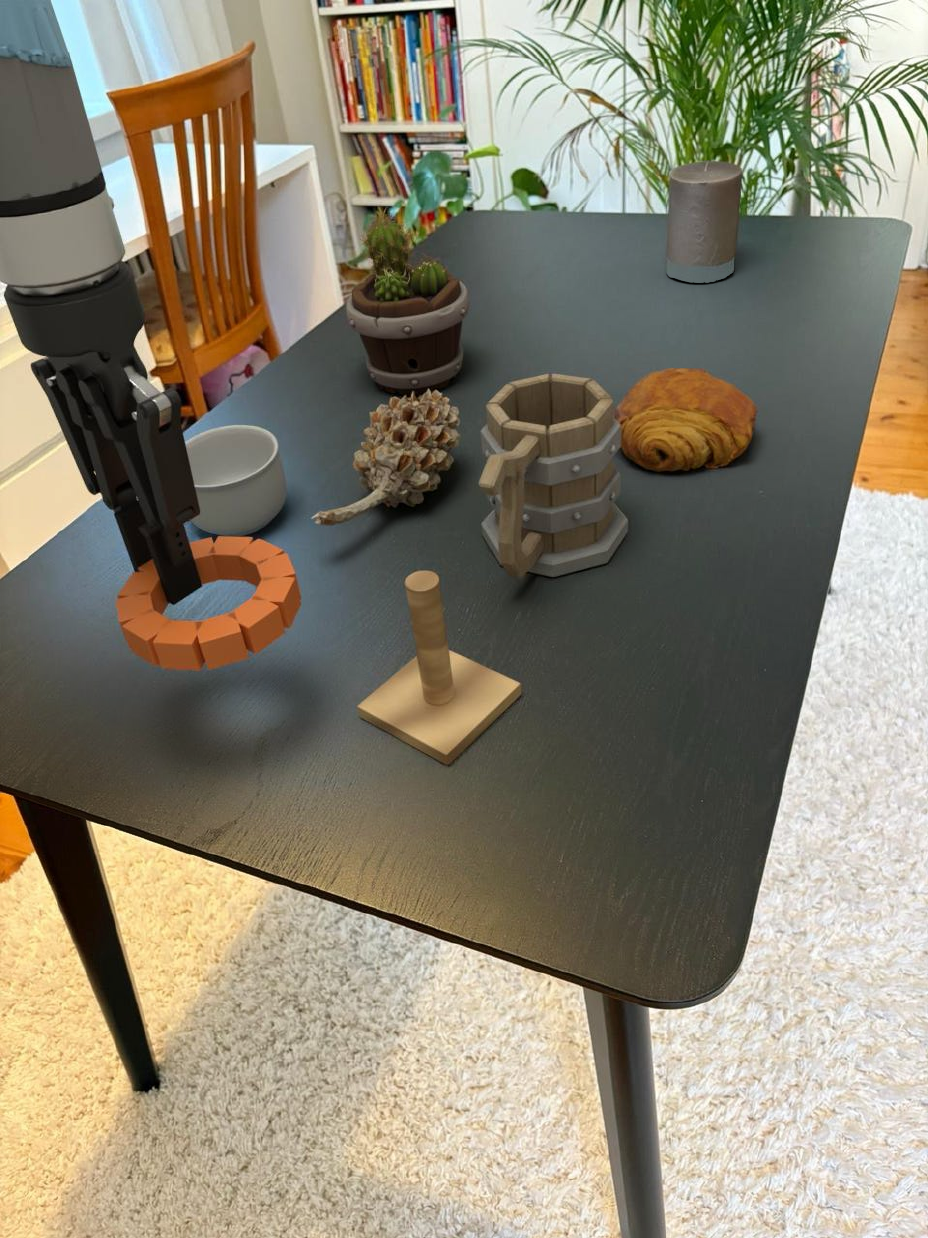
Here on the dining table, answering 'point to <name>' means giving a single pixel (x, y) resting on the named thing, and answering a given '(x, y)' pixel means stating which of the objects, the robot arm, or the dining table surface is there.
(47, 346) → the robot arm
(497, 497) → the tankard
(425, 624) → the rack
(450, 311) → the flowerpot
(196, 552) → the ring
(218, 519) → the teacup
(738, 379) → the dining table surface
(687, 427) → the croissant
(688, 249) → the pillar candle
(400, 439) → the pine cone
